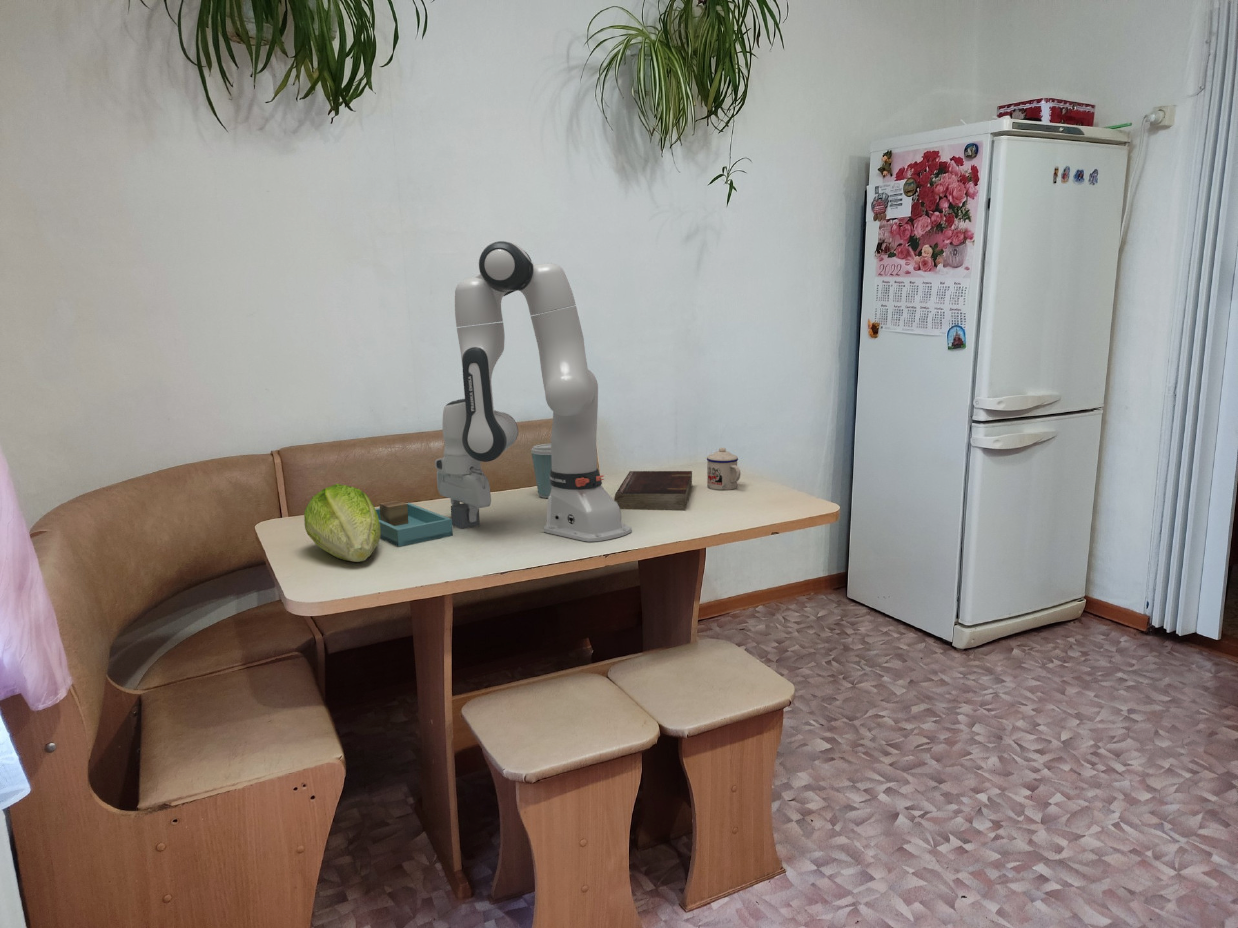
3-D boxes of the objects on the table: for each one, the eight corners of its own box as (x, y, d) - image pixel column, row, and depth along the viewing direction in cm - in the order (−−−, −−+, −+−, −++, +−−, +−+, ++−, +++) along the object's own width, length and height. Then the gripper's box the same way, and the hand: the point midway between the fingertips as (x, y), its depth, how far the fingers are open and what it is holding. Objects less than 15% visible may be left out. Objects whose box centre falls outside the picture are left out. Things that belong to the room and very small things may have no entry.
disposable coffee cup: (525, 498, 244) (523, 446, 241) (542, 490, 253) (541, 439, 250) (559, 501, 240) (558, 448, 237) (575, 493, 250) (574, 441, 247)
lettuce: (398, 579, 191) (324, 600, 185) (373, 519, 210) (305, 535, 204) (390, 526, 183) (313, 545, 177) (364, 468, 201) (294, 483, 195)
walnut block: (408, 523, 215) (407, 503, 214) (389, 527, 212) (388, 507, 211) (399, 519, 219) (398, 500, 218) (380, 523, 216) (379, 503, 215)
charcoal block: (479, 525, 217) (478, 505, 216) (462, 529, 213) (461, 509, 212) (469, 521, 220) (468, 502, 219) (451, 525, 217) (450, 505, 216)
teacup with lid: (700, 486, 256) (700, 447, 253) (723, 482, 261) (724, 444, 258) (727, 494, 246) (727, 453, 244) (751, 489, 251) (751, 450, 249)
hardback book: (628, 486, 259) (628, 469, 258) (691, 487, 257) (692, 471, 256) (614, 510, 231) (614, 492, 230) (685, 512, 228) (685, 493, 227)
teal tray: (452, 535, 208) (451, 519, 207) (398, 546, 199) (397, 530, 198) (410, 517, 225) (409, 502, 224) (358, 527, 216) (357, 512, 215)
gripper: (496, 468, 208) (498, 524, 211) (453, 457, 223) (456, 509, 226) (473, 472, 204) (475, 529, 207) (431, 460, 219) (434, 513, 222)
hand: (465, 518), depth 217 cm, fingers closed on charcoal block, 5 cm apart
